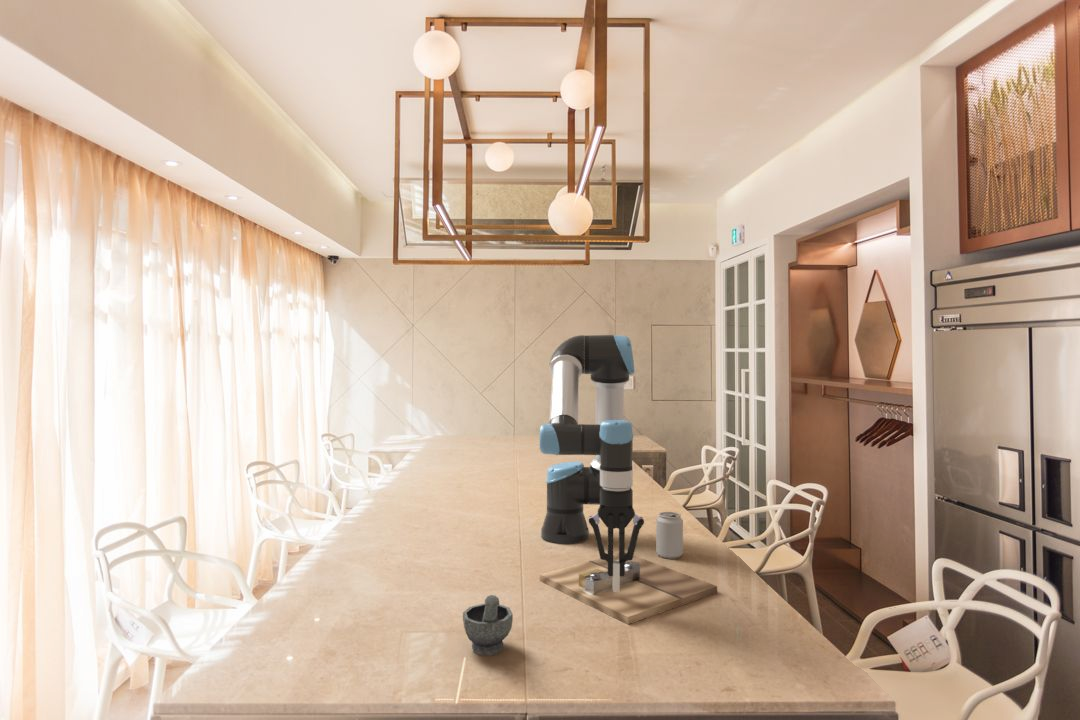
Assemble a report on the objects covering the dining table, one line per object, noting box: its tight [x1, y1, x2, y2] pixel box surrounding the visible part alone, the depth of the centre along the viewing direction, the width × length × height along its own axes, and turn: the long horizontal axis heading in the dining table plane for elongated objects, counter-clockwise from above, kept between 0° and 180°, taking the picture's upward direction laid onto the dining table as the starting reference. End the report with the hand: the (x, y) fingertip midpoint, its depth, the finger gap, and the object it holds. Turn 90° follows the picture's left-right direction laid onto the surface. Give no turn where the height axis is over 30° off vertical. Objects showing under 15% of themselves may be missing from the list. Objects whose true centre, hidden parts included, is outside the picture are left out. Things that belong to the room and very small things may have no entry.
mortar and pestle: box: [462, 594, 514, 656], centre depth 121 cm, size 11×9×12 cm
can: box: [655, 511, 684, 560], centre depth 178 cm, size 8×8×12 cm
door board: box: [539, 552, 718, 625], centre depth 154 cm, size 32×30×5 cm
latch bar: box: [585, 561, 640, 594], centre depth 151 cm, size 17×4×4 cm, turn 130°
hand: (616, 589), depth 143 cm, fingers closed
